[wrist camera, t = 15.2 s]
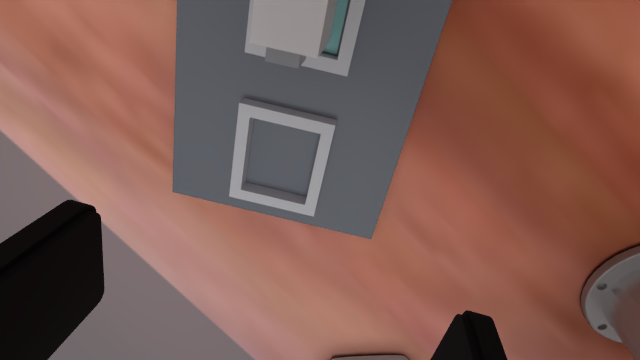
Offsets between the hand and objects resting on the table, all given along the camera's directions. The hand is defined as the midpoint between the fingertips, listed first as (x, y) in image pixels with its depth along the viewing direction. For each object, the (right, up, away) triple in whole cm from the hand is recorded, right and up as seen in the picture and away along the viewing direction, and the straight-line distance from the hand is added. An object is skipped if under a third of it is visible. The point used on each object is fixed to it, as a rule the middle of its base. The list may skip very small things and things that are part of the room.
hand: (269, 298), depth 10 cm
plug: (+1, +16, +18) cm, 24 cm away
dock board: (-1, +11, +22) cm, 25 cm away
